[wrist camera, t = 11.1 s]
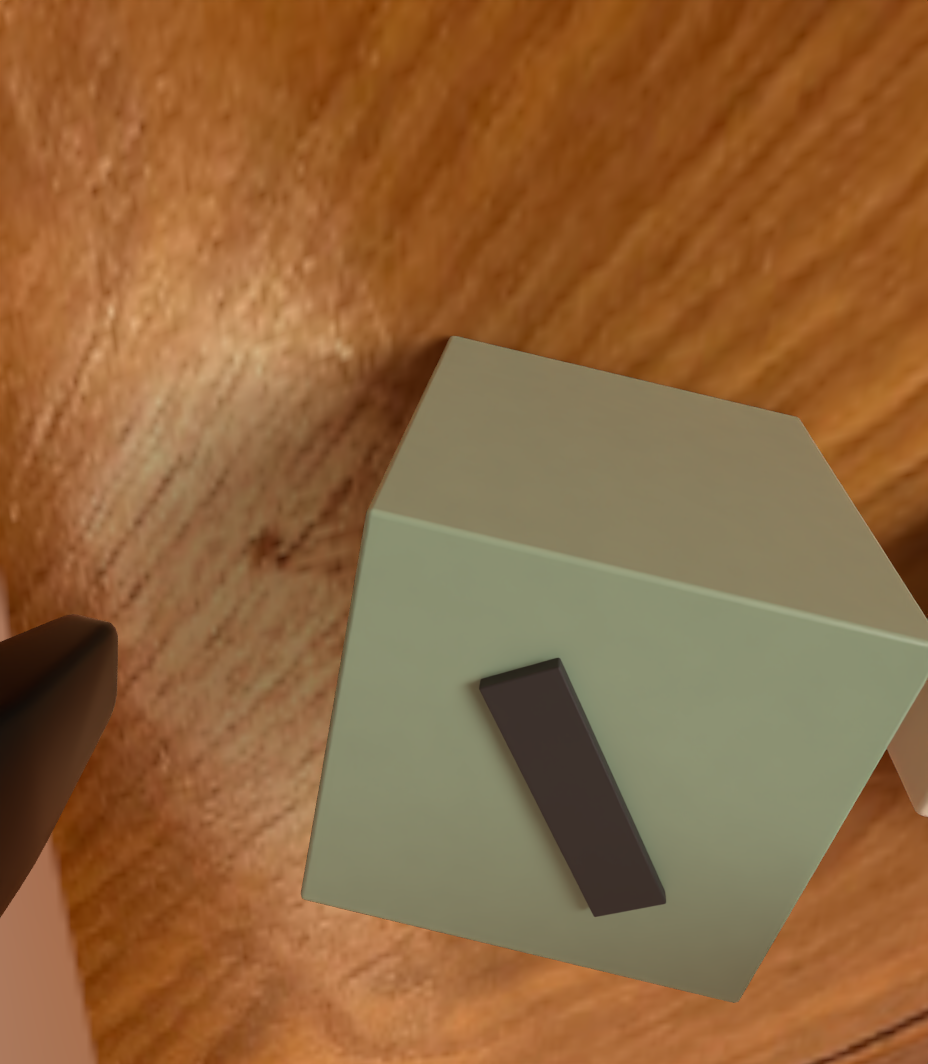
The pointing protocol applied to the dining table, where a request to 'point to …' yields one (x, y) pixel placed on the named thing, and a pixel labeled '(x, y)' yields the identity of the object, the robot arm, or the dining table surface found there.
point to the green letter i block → (605, 673)
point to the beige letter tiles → (913, 752)
